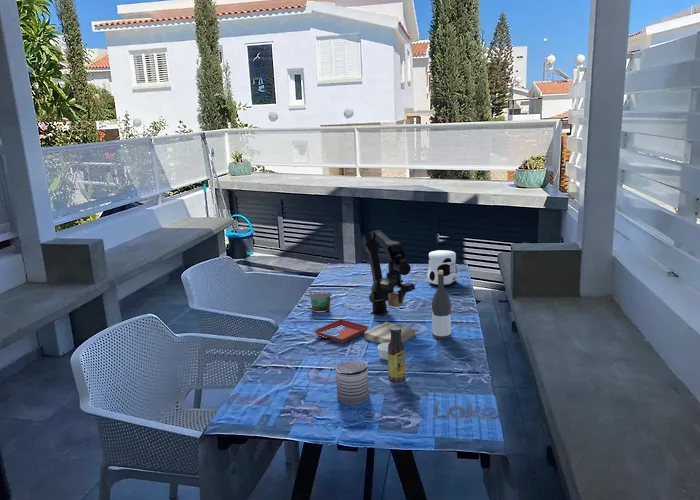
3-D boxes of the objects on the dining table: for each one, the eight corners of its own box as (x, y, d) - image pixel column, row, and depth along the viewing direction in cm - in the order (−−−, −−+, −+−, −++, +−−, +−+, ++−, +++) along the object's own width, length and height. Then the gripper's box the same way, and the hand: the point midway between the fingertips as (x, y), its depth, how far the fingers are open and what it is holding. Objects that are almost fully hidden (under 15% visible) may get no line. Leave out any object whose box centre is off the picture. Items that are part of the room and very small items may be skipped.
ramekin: (387, 350, 231) (387, 340, 230) (404, 355, 225) (403, 345, 224) (373, 357, 225) (373, 347, 224) (389, 362, 219) (389, 352, 218)
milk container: (427, 279, 328) (426, 250, 324) (457, 279, 325) (456, 249, 321) (427, 288, 311) (426, 257, 307) (458, 287, 309) (458, 256, 305)
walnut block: (388, 305, 256) (387, 293, 255) (395, 302, 260) (394, 290, 258) (396, 307, 253) (396, 295, 252) (403, 304, 257) (403, 292, 255)
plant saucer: (313, 337, 250) (313, 330, 249) (341, 325, 263) (340, 318, 262) (342, 346, 238) (342, 339, 237) (369, 333, 251) (369, 326, 250)
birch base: (364, 338, 244) (364, 332, 243) (387, 327, 255) (386, 321, 254) (393, 347, 233) (392, 340, 232) (415, 335, 244) (415, 329, 244)
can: (344, 407, 186) (342, 375, 183) (332, 393, 196) (330, 362, 193) (374, 399, 190) (373, 367, 188) (361, 386, 200) (359, 355, 198)
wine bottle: (450, 339, 237) (450, 273, 231) (431, 339, 239) (430, 273, 232) (451, 332, 245) (450, 268, 238) (432, 332, 247) (431, 268, 240)
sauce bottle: (400, 384, 200) (398, 333, 196) (385, 380, 204) (383, 330, 199) (408, 376, 206) (406, 326, 201) (393, 373, 209) (391, 324, 205)
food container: (305, 312, 282) (304, 293, 279) (310, 308, 287) (309, 290, 285) (327, 314, 277) (326, 295, 275) (332, 310, 283) (331, 291, 280)
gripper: (367, 271, 253) (369, 303, 257) (400, 277, 241) (401, 311, 244) (383, 266, 261) (384, 297, 265) (415, 271, 249) (416, 304, 252)
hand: (395, 302), depth 256 cm, fingers closed on walnut block, 5 cm apart
